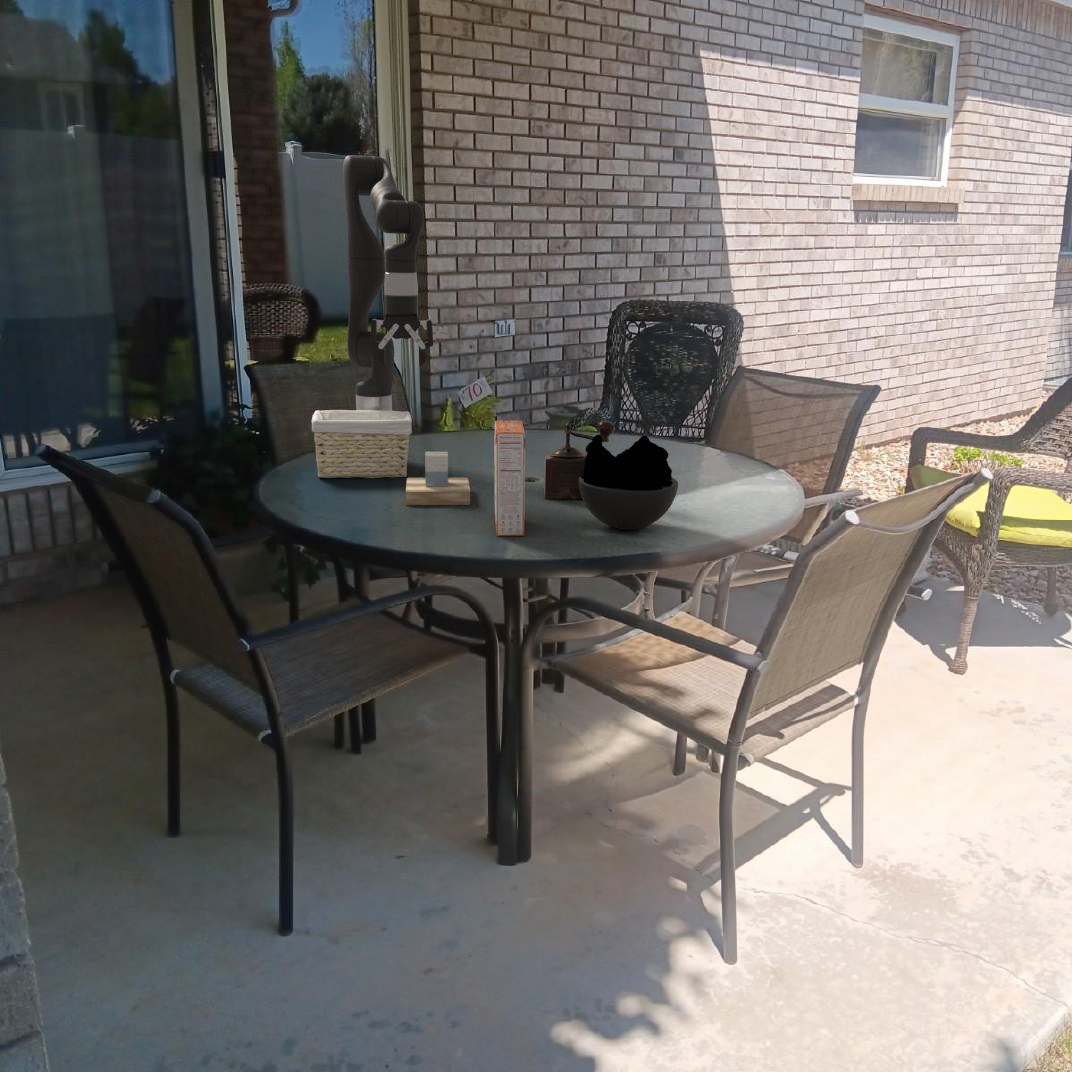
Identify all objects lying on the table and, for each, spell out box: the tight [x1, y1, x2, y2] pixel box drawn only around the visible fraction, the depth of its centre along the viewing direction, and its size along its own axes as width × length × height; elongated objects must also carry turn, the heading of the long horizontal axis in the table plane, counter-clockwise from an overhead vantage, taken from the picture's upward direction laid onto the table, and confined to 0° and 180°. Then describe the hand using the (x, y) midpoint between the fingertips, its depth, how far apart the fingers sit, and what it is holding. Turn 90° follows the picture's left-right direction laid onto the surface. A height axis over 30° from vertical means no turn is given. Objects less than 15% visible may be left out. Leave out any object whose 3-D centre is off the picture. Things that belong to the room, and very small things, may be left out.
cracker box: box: [493, 419, 526, 537], centre depth 204 cm, size 14×6×21 cm, turn 3°
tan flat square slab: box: [405, 477, 471, 506], centre depth 230 cm, size 14×14×3 cm
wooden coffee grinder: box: [542, 420, 616, 501], centre depth 233 cm, size 16×11×18 cm
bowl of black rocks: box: [579, 434, 679, 531], centre depth 206 cm, size 20×20×19 cm
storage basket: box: [311, 409, 413, 479], centre depth 252 cm, size 24×16×15 cm
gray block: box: [424, 451, 449, 487], centre depth 229 cm, size 5×6×7 cm
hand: (402, 365), depth 235 cm, fingers open, 8 cm apart
